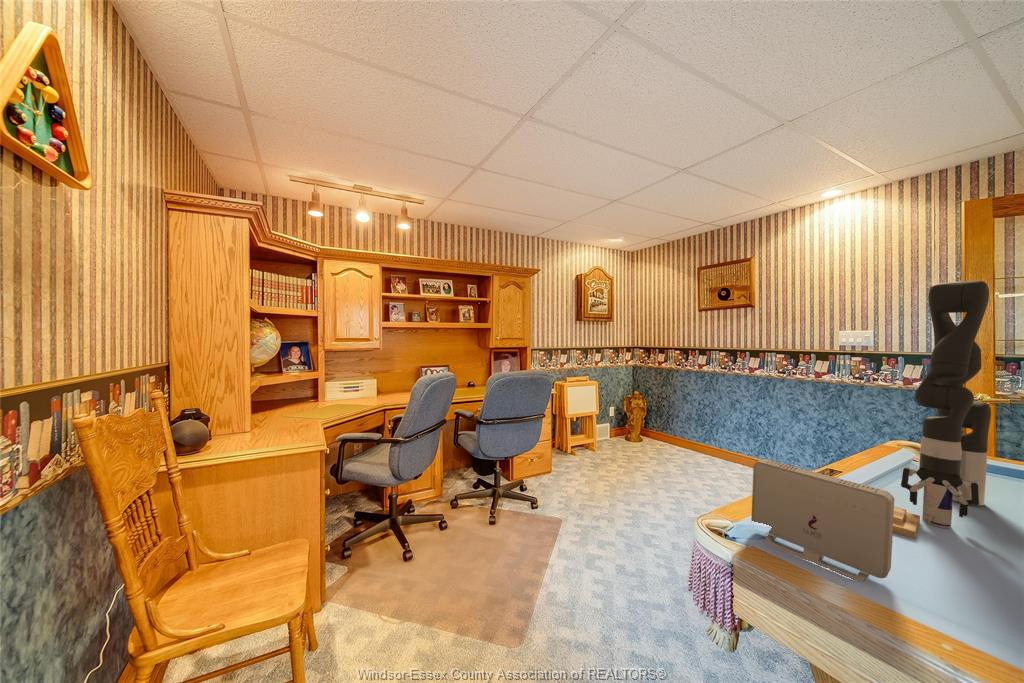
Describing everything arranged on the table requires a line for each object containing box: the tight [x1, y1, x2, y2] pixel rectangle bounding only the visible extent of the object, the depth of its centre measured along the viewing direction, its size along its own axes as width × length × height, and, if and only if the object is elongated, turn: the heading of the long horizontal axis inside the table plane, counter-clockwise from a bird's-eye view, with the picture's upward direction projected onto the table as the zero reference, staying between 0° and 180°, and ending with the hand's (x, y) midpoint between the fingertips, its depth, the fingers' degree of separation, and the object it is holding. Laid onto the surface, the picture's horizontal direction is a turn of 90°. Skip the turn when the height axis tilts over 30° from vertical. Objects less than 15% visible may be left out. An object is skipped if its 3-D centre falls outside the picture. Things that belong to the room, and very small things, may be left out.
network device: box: [750, 458, 895, 582], centre depth 87 cm, size 26×9×20 cm, turn 36°
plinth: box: [893, 506, 921, 540], centre depth 104 cm, size 14×14×4 cm
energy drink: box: [922, 483, 954, 530], centre depth 102 cm, size 5×5×12 cm
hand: (937, 510), depth 102 cm, fingers open, 8 cm apart
